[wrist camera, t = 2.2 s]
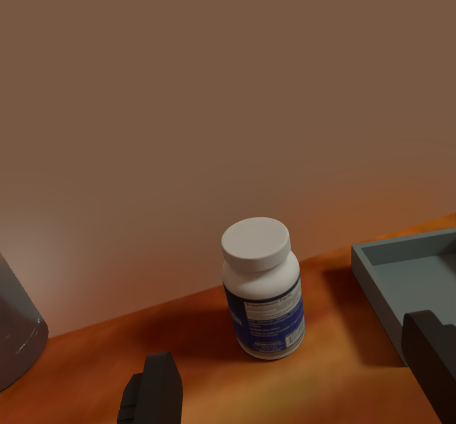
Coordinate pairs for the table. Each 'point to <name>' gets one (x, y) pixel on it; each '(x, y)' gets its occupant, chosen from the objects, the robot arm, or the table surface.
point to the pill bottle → (263, 287)
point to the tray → (408, 278)
